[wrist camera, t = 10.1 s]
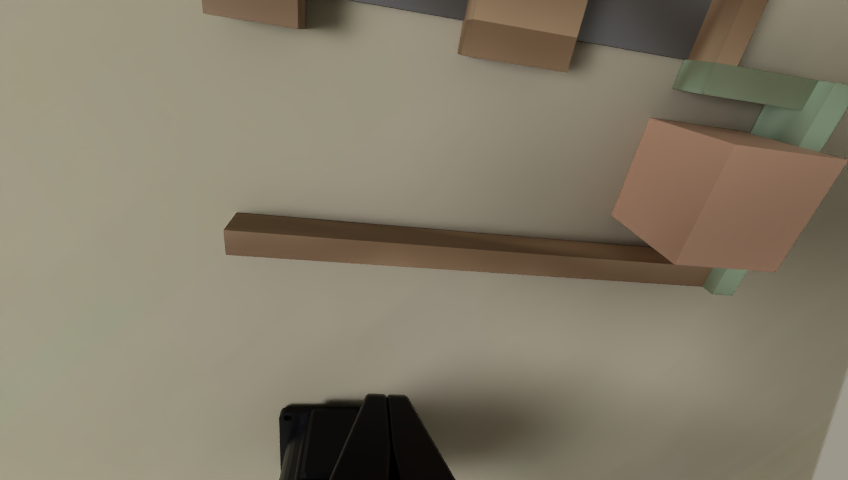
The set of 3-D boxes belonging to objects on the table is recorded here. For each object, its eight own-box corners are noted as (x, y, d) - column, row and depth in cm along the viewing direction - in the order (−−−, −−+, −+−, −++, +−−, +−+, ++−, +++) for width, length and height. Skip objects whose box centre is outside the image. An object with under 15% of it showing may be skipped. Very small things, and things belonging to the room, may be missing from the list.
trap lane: (697, 270, 23) (732, 295, 21) (238, 235, 19) (220, 263, 16) (875, -57, 16) (957, -72, 14) (203, -231, 12) (163, -292, 9)
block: (693, 222, 21) (775, 272, 17) (610, 214, 21) (674, 264, 16) (739, 130, 19) (848, 160, 15) (648, 117, 18) (735, 144, 14)
